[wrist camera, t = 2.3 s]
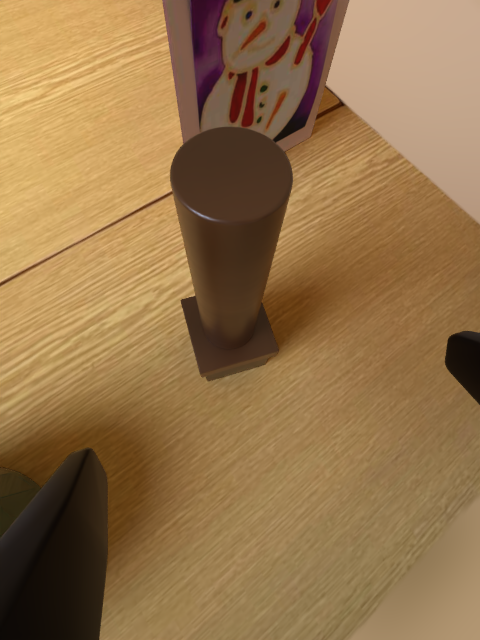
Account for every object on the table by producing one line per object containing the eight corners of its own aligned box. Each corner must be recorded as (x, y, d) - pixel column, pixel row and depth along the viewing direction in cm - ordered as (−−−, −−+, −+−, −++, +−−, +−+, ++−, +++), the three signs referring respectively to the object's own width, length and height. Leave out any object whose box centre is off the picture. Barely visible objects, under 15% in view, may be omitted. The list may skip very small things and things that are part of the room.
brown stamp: (269, 366, 20) (357, 226, 6) (205, 386, 19) (157, 276, 6) (249, 308, 21) (289, 89, 8) (188, 324, 20) (118, 119, 7)
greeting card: (199, 211, 23) (156, -140, 9) (144, 146, 25) (38, -231, 11) (317, 143, 26) (428, -210, 12) (260, 89, 28) (296, -274, 13)
